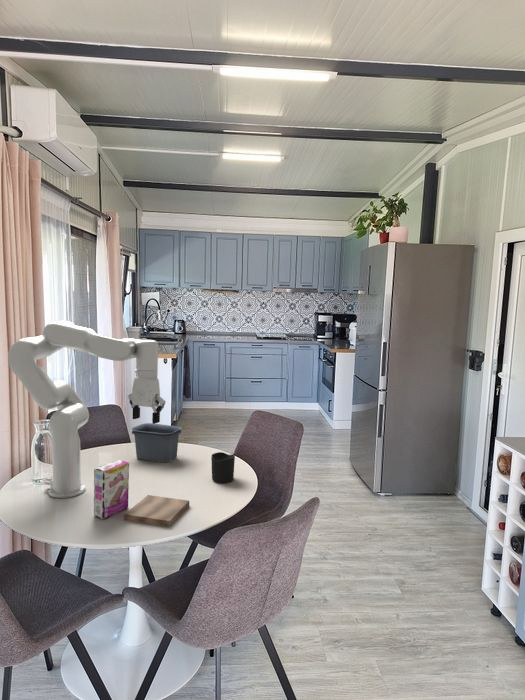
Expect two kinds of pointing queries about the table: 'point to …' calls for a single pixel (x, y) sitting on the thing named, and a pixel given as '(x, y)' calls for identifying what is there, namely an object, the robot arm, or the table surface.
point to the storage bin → (156, 442)
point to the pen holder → (222, 467)
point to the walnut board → (157, 510)
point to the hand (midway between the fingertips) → (146, 420)
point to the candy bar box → (111, 488)
